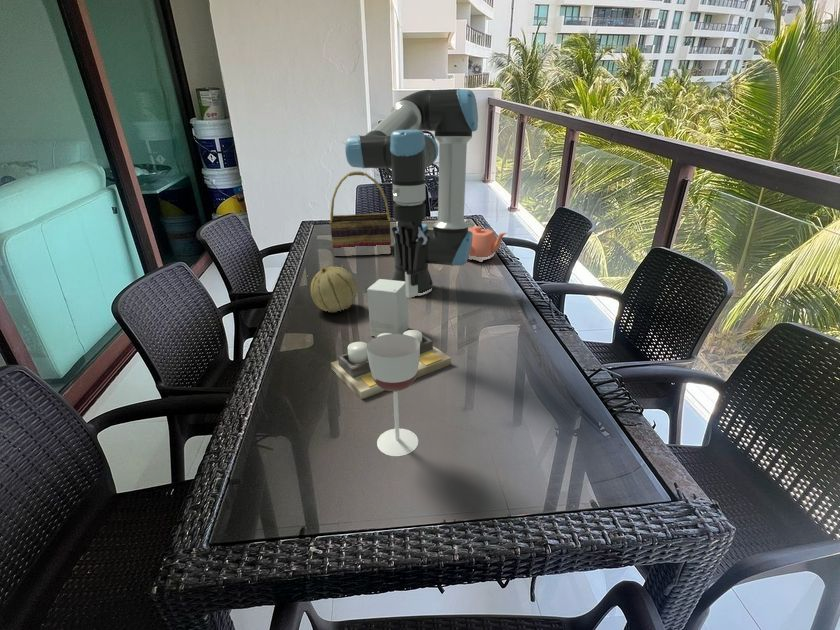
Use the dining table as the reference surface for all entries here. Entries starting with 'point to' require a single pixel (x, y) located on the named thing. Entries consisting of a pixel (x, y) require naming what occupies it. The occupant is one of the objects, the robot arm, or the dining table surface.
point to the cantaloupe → (333, 289)
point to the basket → (360, 224)
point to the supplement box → (388, 307)
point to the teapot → (484, 242)
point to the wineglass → (394, 383)
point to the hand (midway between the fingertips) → (411, 295)
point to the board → (361, 376)
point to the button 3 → (414, 334)
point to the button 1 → (357, 353)
